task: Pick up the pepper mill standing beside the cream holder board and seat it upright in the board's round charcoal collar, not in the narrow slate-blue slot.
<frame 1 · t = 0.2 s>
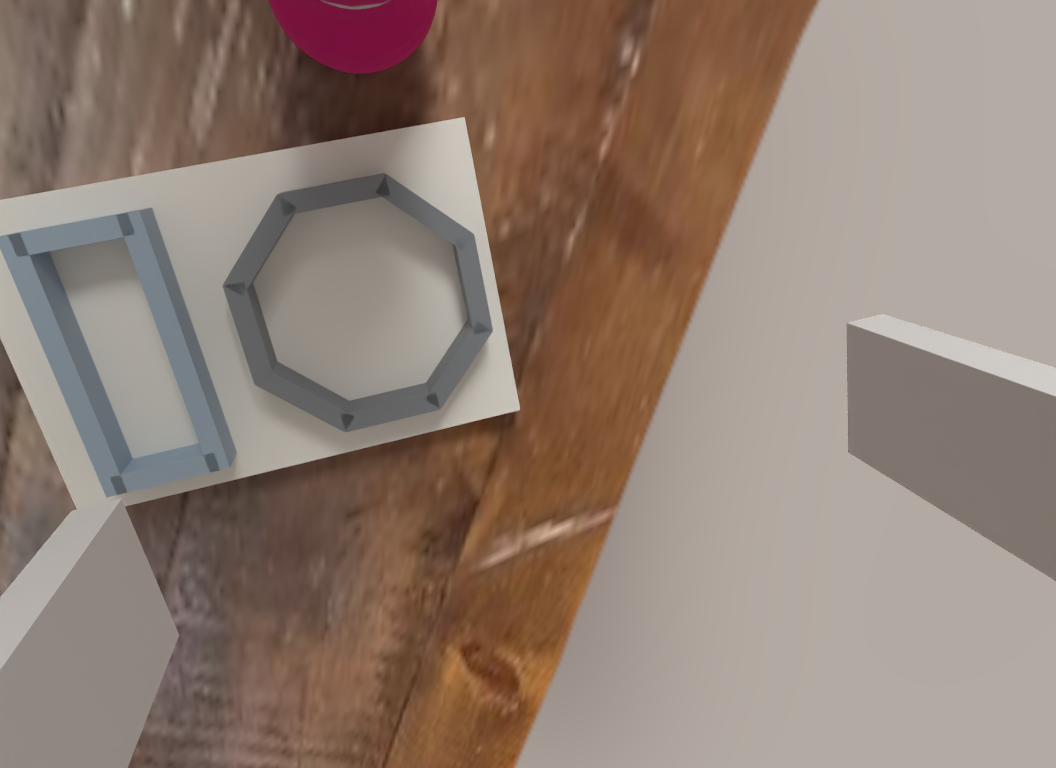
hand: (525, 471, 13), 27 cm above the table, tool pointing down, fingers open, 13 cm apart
holder board: (271, 316, 37), on the table
pepper mill: (354, 2, 34), on the table
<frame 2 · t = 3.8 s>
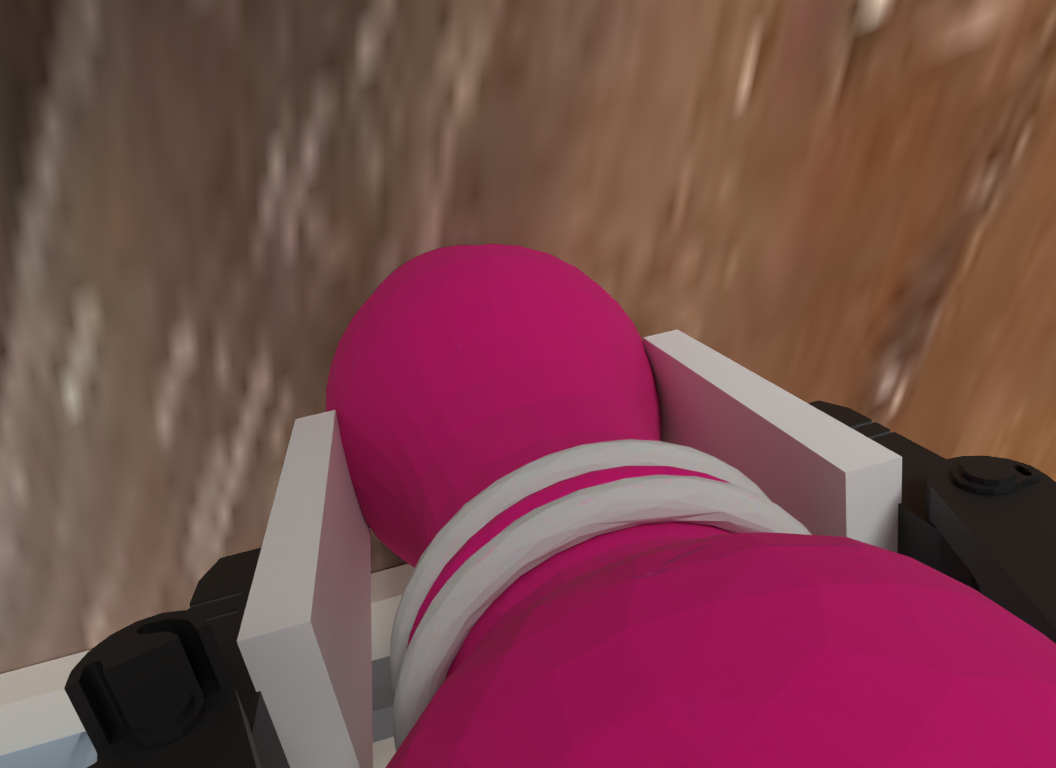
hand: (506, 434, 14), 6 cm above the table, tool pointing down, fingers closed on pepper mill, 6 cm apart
pepper mill: (466, 354, 20), on the table, touching gripper
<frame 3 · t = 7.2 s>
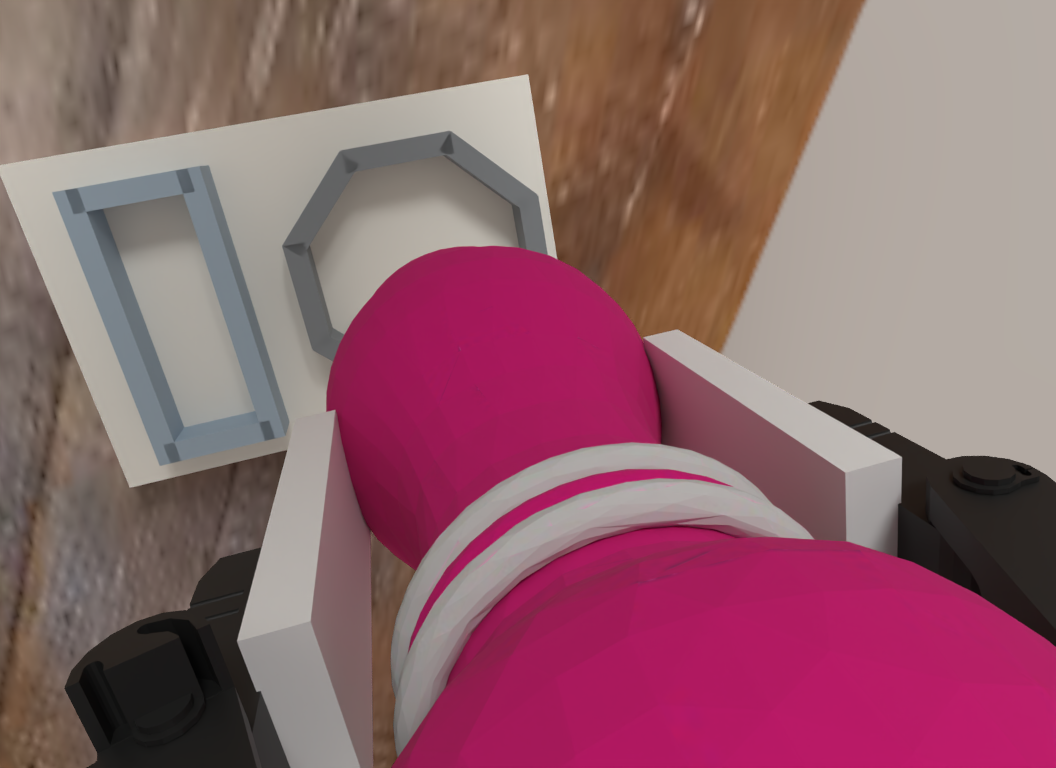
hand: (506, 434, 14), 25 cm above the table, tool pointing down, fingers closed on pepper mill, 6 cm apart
holder board: (325, 281, 36), on the table
pepper mill: (466, 355, 20), point 18 cm above the table, touching gripper
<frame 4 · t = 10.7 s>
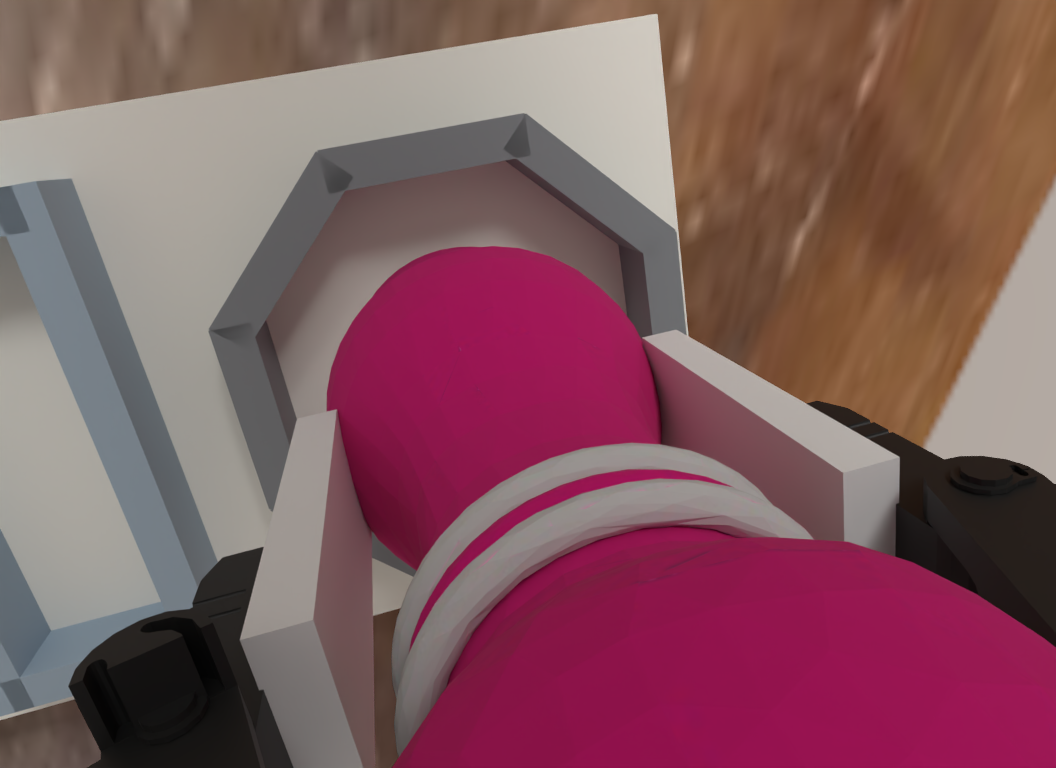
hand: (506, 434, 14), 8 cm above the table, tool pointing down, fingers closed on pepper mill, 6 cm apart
holder board: (296, 374, 21), on the table
pepper mill: (466, 355, 20), point 2 cm above the table, touching gripper
when the fingers open (8 cm above the table, at t = 10.9 s): pepper mill stays where it is, resting on holder board.
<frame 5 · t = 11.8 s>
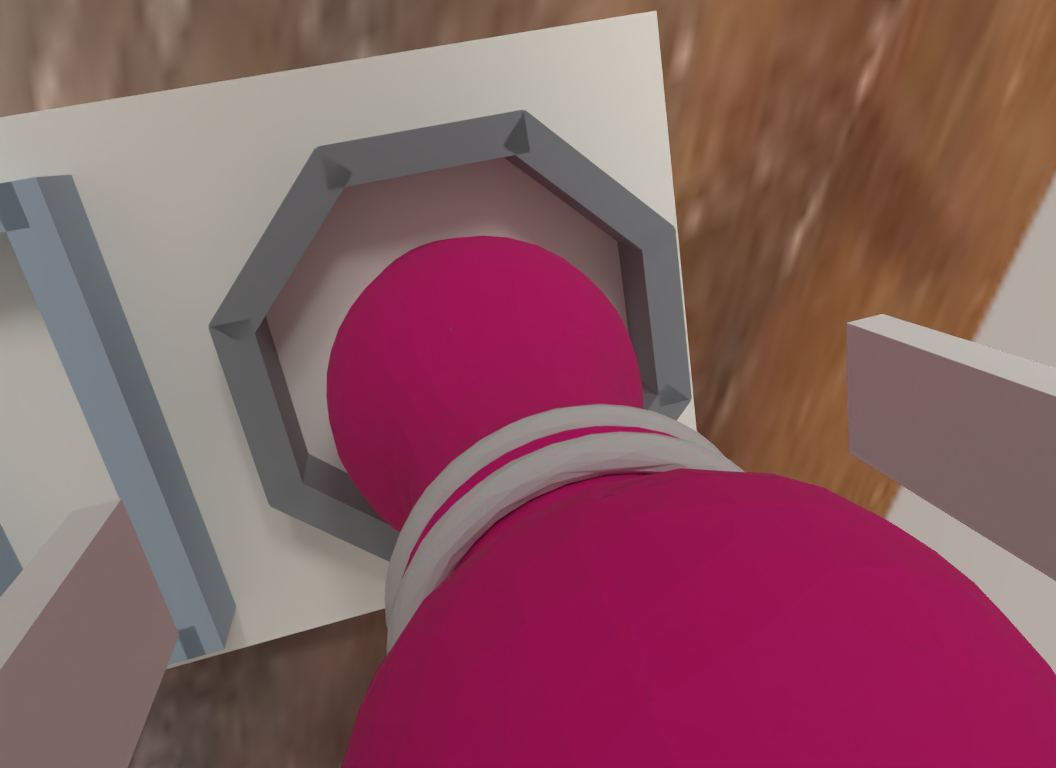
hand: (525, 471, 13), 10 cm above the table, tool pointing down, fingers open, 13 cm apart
holder board: (296, 371, 21), on the table
pepper mill: (460, 343, 21), point 1 cm above the table, touching holder board
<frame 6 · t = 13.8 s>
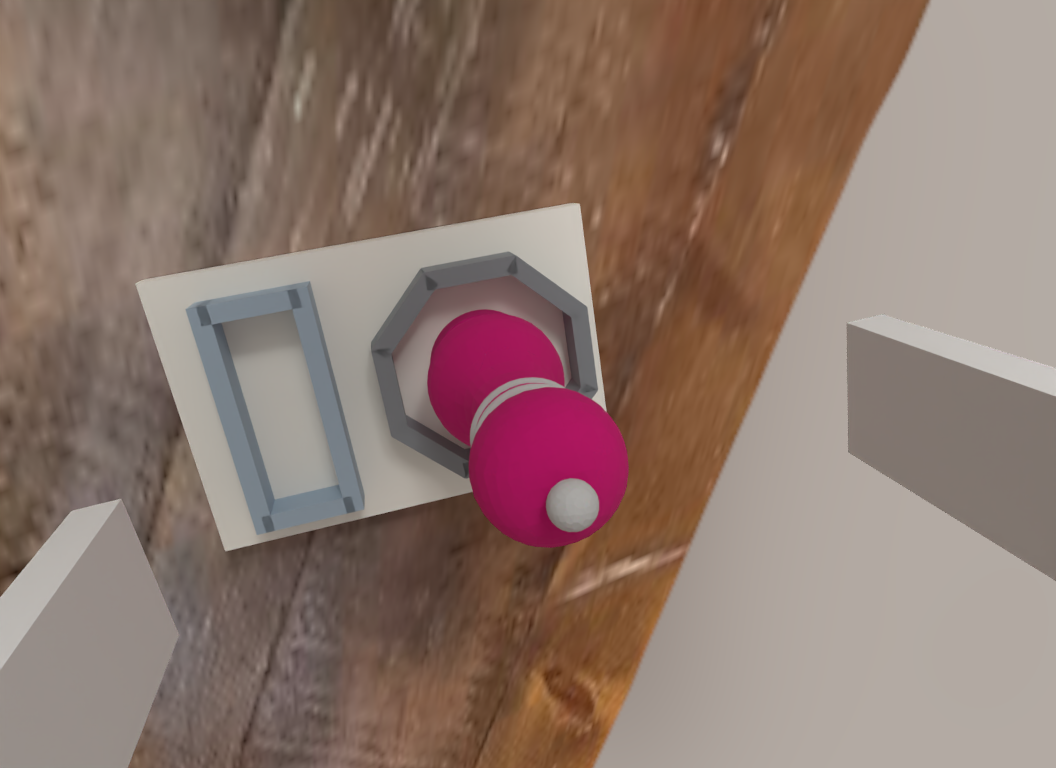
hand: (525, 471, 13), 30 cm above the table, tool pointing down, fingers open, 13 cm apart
holder board: (398, 373, 42), on the table
pepper mill: (482, 360, 41), point 1 cm above the table, touching holder board
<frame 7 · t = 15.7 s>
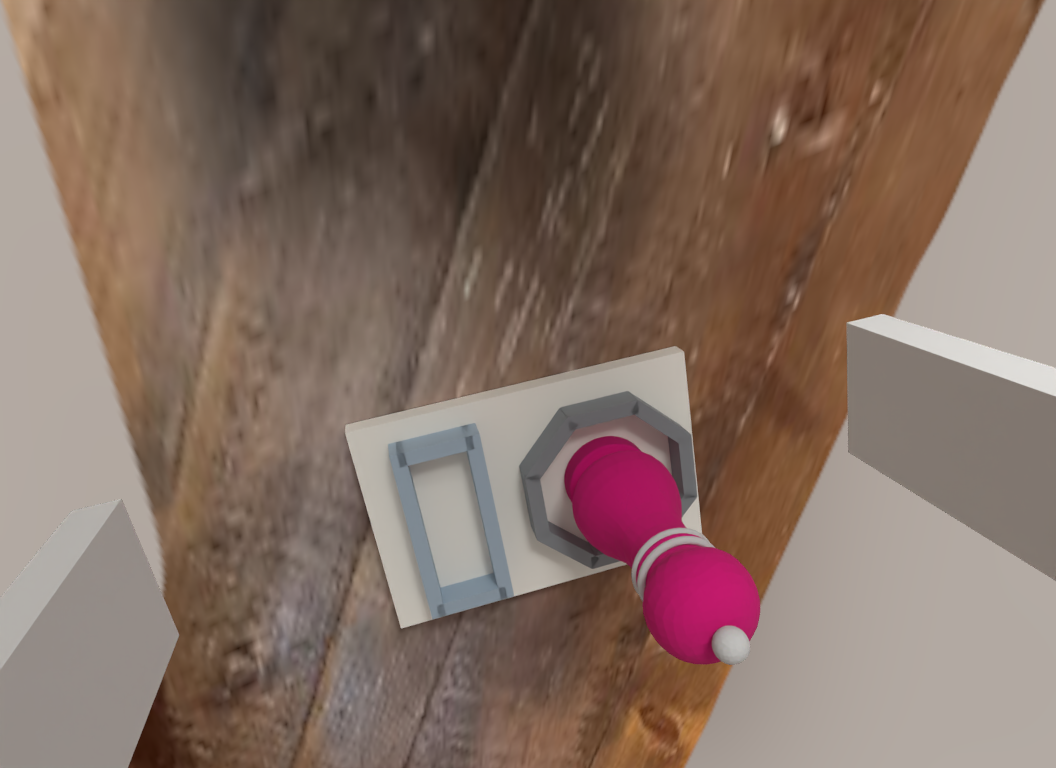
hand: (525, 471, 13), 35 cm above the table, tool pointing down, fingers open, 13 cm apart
holder board: (535, 483, 52), on the table
pepper mill: (603, 473, 52), point 1 cm above the table, touching holder board
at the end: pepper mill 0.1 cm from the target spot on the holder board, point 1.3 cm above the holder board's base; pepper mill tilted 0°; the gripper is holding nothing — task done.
